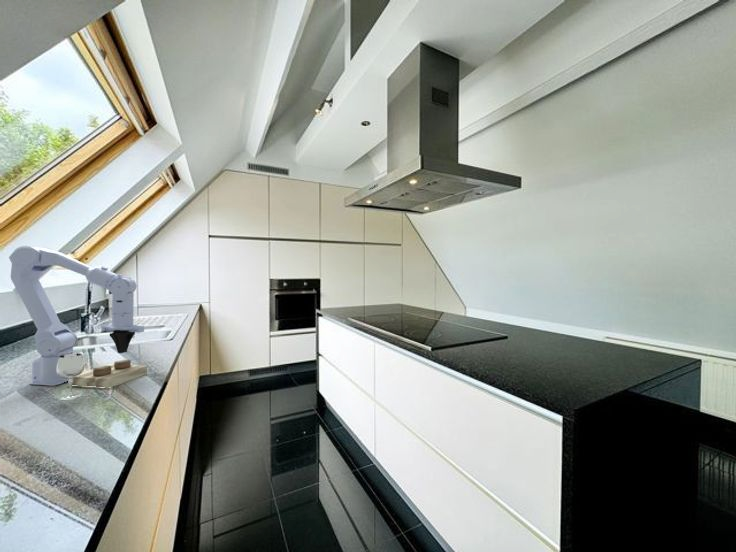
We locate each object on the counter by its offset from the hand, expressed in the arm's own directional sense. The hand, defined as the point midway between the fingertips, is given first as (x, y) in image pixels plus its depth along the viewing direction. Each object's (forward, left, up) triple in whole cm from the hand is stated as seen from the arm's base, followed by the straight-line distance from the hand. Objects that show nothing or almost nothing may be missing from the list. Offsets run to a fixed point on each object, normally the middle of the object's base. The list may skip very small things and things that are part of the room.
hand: (122, 352), depth 104 cm
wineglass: (+2, -18, -8) cm, 20 cm away
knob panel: (-1, -3, -8) cm, 9 cm away
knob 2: (0, 0, -8) cm, 8 cm away
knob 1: (0, -7, -8) cm, 11 cm away
